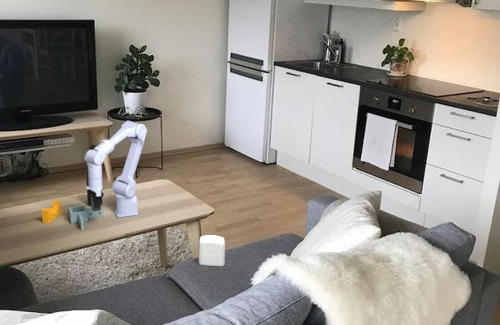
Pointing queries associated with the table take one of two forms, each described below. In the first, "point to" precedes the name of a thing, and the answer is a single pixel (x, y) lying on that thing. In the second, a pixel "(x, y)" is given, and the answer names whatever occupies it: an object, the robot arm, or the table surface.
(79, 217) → the square tube bracket
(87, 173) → the wine bottle
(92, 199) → the pin
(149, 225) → the table surface
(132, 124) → the robot arm
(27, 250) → the table surface
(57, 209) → the pipe clamp
